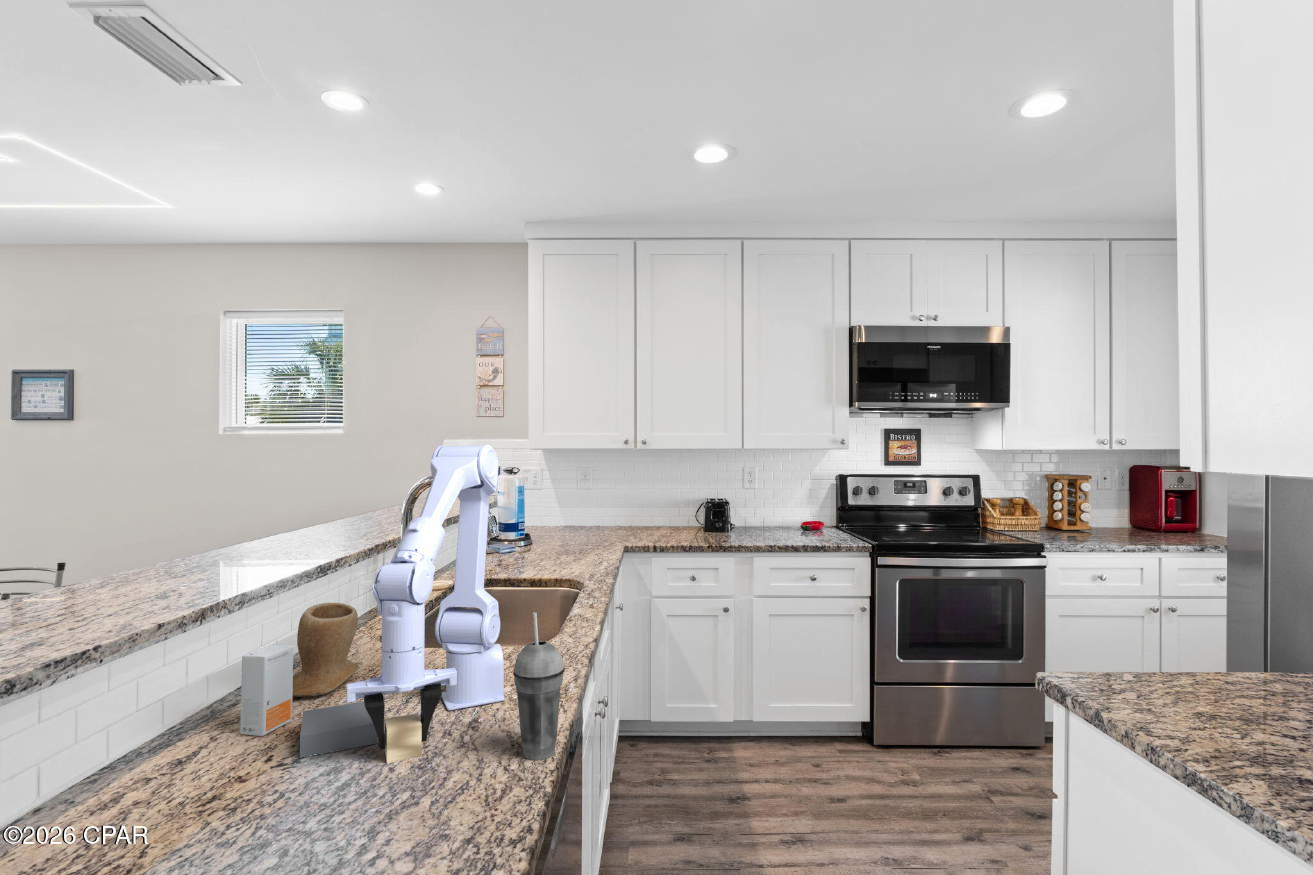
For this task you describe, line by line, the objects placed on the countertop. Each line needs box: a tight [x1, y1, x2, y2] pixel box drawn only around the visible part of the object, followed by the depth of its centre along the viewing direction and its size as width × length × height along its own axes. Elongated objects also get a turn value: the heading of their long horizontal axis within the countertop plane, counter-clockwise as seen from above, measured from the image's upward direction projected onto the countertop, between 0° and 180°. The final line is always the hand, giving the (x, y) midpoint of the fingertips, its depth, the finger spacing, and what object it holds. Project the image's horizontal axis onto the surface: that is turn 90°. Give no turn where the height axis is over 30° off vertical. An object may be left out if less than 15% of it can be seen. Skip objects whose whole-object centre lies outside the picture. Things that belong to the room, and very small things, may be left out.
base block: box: [299, 700, 379, 759], centre depth 96 cm, size 10×10×3 cm
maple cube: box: [384, 712, 423, 764], centre depth 90 cm, size 4×4×4 cm
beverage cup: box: [512, 612, 565, 761], centre depth 90 cm, size 7×7×20 cm
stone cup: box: [292, 602, 360, 698], centre depth 117 cm, size 15×12×15 cm
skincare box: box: [239, 644, 295, 737], centre depth 99 cm, size 6×4×12 cm
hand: (402, 742), depth 90 cm, fingers open, 5 cm apart
